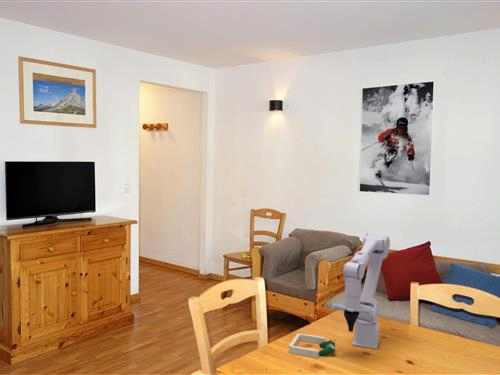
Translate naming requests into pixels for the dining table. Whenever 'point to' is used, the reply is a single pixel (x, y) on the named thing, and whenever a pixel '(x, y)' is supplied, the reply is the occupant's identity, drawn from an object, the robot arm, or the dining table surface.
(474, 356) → the dining table surface
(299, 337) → the controller dock
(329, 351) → the gaming controller
